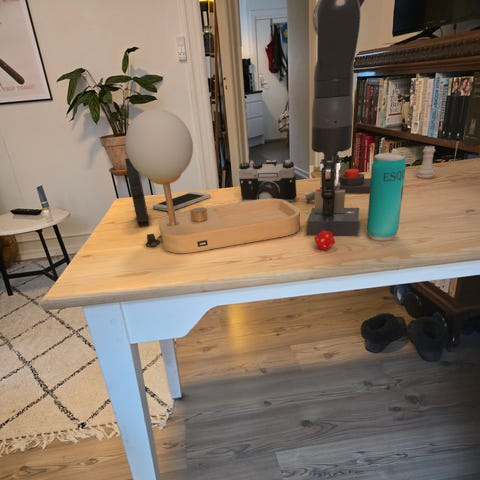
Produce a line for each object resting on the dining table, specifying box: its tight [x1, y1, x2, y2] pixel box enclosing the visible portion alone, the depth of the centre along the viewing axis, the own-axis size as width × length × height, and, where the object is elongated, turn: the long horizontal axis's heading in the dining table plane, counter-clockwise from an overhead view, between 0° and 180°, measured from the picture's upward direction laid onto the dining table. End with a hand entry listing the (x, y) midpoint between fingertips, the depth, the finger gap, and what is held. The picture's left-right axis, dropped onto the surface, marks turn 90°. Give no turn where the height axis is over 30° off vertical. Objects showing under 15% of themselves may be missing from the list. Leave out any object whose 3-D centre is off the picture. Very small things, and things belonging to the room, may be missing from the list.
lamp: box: [124, 108, 301, 254], centre depth 83 cm, size 33×17×25 cm, turn 105°
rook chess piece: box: [416, 145, 436, 179], centre depth 114 cm, size 4×4×8 cm
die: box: [313, 230, 336, 252], centre depth 76 cm, size 4×4×4 cm
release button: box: [344, 168, 360, 178], centre depth 110 cm, size 4×4×2 cm
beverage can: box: [366, 152, 407, 242], centre depth 76 cm, size 6×6×15 cm
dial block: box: [304, 207, 360, 237], centre depth 86 cm, size 11×11×3 cm
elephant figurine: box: [304, 181, 341, 203], centre depth 102 cm, size 10×6×9 cm
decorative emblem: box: [124, 157, 150, 228], centre depth 98 cm, size 12×2×15 cm, turn 12°
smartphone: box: [152, 191, 211, 212], centre depth 113 cm, size 7×16×1 cm, turn 139°
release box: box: [338, 172, 371, 194], centre depth 110 cm, size 10×9×4 cm
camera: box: [237, 159, 297, 202], centre depth 104 cm, size 15×11×10 cm
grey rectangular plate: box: [314, 188, 346, 213], centre depth 85 cm, size 6×1×5 cm, turn 75°
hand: (329, 211), depth 86 cm, fingers closed on dial block, 4 cm apart
